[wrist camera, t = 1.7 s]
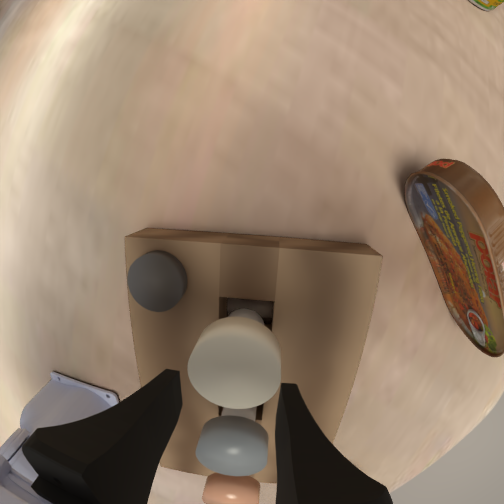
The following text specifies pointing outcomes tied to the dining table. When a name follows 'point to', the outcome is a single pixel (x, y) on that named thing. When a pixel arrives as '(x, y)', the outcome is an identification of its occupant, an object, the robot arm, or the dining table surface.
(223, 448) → the knob slate
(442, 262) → the tin
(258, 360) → the knob cream
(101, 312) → the dining table surface
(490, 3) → the supplement bottle
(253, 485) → the peach pink ball
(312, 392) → the board
